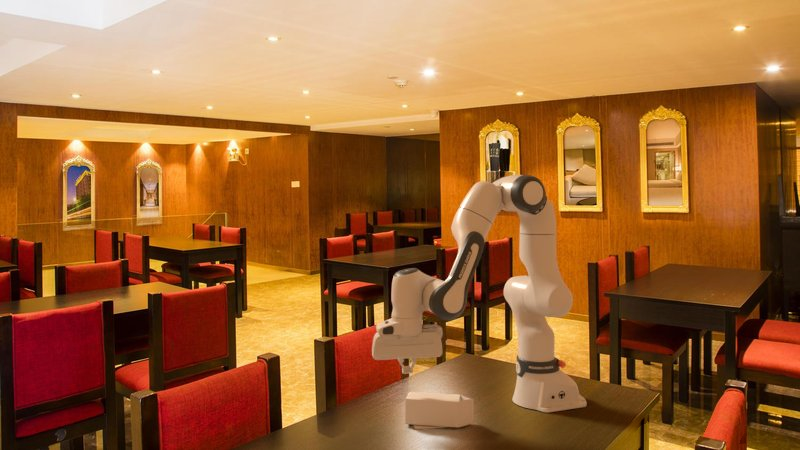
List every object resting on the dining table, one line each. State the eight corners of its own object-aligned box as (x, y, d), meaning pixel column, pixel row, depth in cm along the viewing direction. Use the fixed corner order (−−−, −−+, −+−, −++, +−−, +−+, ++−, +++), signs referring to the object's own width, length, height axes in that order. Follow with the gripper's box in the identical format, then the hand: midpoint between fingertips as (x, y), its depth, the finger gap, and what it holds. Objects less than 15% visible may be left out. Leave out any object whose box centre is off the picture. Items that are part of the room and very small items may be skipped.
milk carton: (404, 424, 163) (472, 428, 160) (404, 398, 163) (473, 402, 160) (408, 415, 170) (474, 419, 167) (408, 391, 170) (474, 395, 167)
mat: (453, 409, 176) (453, 407, 176) (464, 426, 164) (464, 424, 164) (407, 411, 174) (407, 410, 174) (415, 429, 161) (415, 427, 161)
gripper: (440, 321, 171) (440, 367, 172) (370, 324, 168) (371, 371, 169) (445, 326, 165) (445, 374, 166) (373, 329, 162) (373, 378, 163)
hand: (407, 372), depth 167 cm, fingers closed
